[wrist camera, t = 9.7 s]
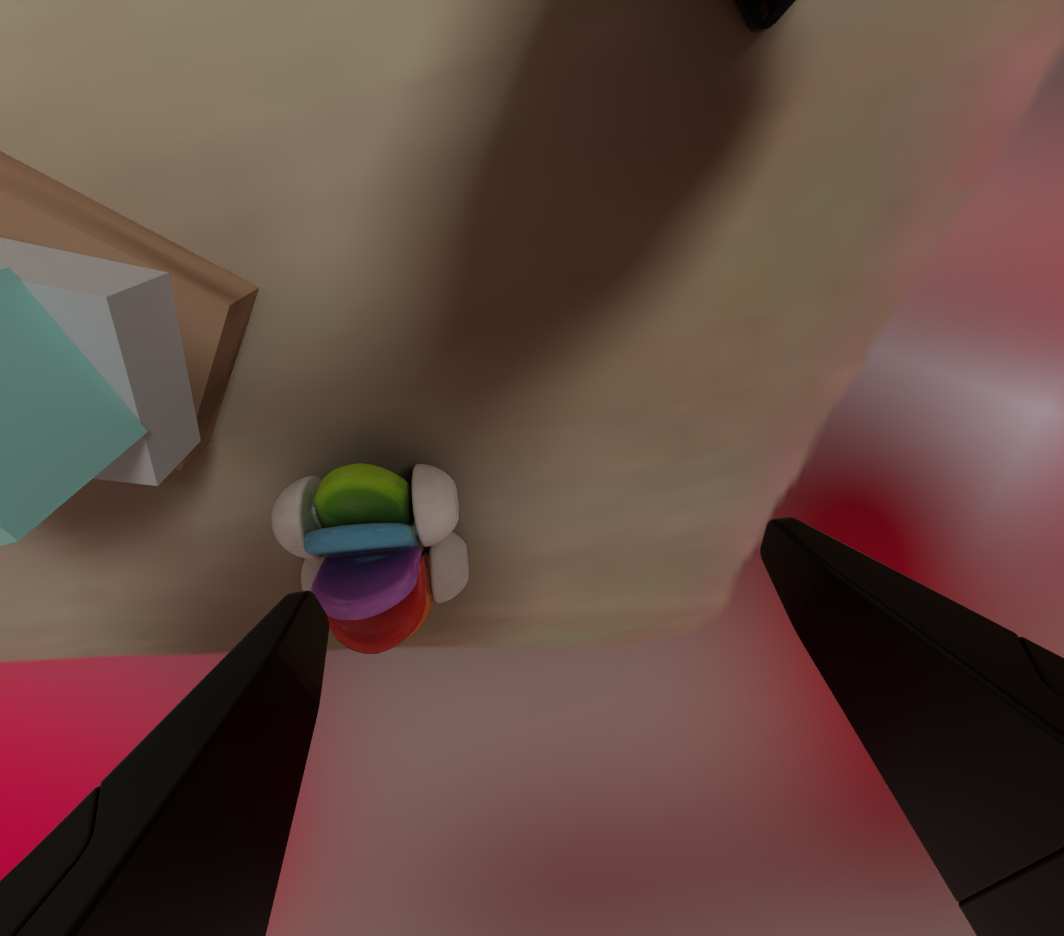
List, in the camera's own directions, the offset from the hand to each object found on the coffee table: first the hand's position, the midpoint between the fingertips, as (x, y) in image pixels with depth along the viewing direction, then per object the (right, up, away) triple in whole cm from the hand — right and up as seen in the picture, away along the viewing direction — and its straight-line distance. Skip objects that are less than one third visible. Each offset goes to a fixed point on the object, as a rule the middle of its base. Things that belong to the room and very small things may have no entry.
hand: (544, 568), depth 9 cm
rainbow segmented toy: (-8, -1, +16) cm, 18 cm away
